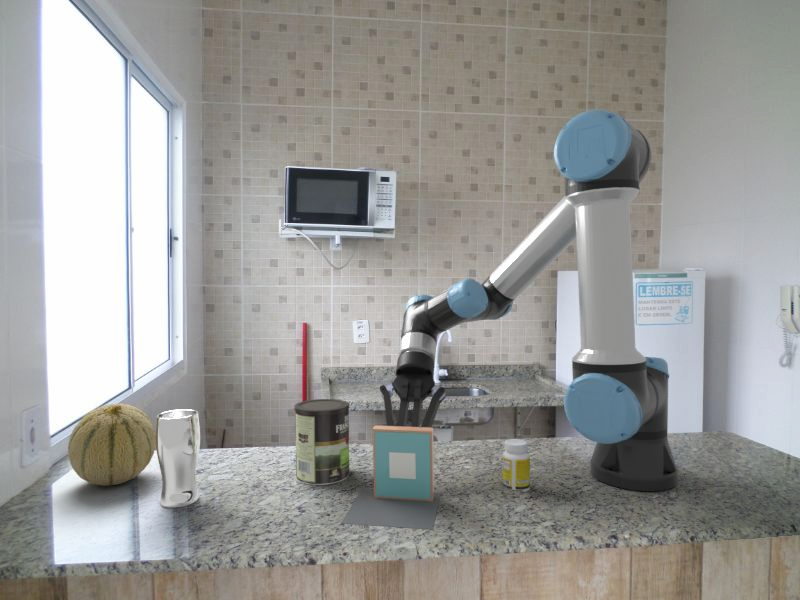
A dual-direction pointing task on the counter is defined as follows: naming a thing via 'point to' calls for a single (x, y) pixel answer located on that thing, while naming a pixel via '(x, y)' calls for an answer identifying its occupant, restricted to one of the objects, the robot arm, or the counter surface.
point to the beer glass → (178, 456)
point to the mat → (392, 511)
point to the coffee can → (322, 441)
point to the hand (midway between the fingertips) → (403, 471)
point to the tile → (403, 463)
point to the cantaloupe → (111, 444)
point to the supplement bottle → (516, 465)
